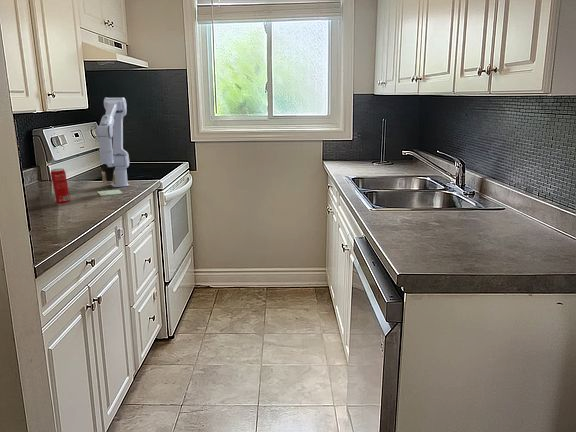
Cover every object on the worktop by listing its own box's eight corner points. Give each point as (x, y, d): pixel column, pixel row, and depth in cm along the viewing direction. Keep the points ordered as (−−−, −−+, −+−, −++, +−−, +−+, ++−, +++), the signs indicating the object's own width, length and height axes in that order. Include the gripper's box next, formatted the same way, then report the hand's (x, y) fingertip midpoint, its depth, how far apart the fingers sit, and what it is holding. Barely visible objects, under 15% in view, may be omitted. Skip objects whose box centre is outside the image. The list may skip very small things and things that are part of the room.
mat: (97, 192, 237) (97, 191, 237) (118, 190, 242) (118, 189, 242) (100, 196, 229) (100, 195, 229) (123, 193, 234) (122, 193, 234)
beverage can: (72, 202, 217) (69, 168, 213) (64, 205, 211) (60, 170, 207) (59, 201, 218) (55, 167, 214) (51, 205, 211) (47, 170, 208)
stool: (113, 182, 238) (112, 170, 236) (115, 184, 234) (114, 172, 232) (102, 183, 235) (101, 171, 234) (104, 185, 231) (103, 173, 230)
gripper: (94, 150, 235) (97, 178, 238) (99, 153, 223) (102, 183, 226) (110, 149, 238) (112, 177, 242) (115, 152, 226) (118, 182, 229)
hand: (108, 180), depth 234 cm, fingers closed on stool, 5 cm apart
